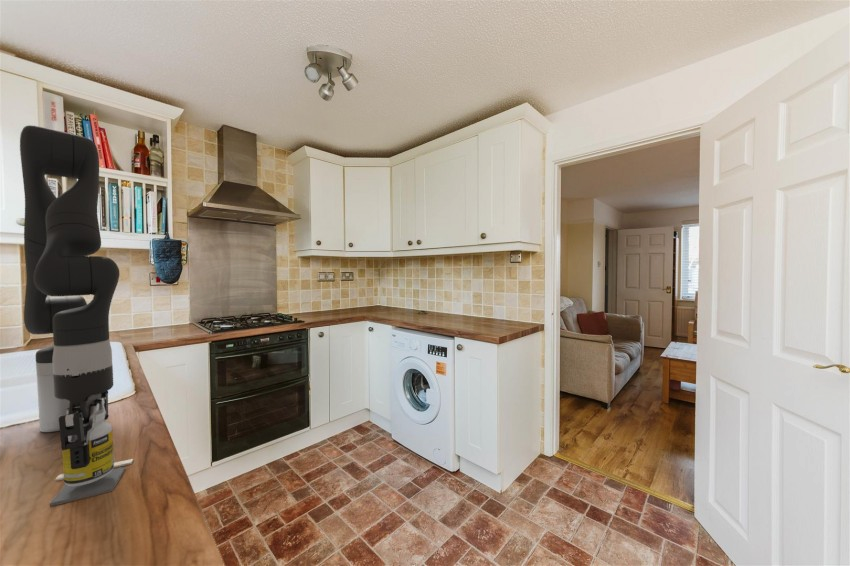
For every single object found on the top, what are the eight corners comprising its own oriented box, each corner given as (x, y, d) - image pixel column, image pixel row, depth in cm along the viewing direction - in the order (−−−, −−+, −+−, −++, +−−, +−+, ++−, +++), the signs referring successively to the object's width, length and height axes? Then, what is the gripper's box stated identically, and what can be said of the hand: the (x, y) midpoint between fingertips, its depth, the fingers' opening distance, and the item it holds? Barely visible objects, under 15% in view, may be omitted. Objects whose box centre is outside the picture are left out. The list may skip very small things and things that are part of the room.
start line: (59, 476, 65) (59, 474, 65) (133, 460, 70) (133, 458, 70) (55, 481, 63) (55, 478, 63) (131, 464, 69) (131, 462, 69)
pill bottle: (82, 490, 58) (78, 424, 57) (53, 485, 59) (50, 420, 58) (123, 468, 64) (120, 408, 63) (96, 464, 65) (93, 405, 65)
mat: (69, 481, 63) (69, 479, 63) (125, 469, 67) (125, 466, 67) (49, 506, 56) (49, 503, 56) (112, 490, 60) (112, 488, 60)
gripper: (72, 360, 65) (77, 444, 66) (32, 381, 52) (38, 485, 53) (123, 355, 69) (127, 435, 69) (97, 374, 56) (102, 471, 57)
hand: (88, 456), depth 61 cm, fingers closed on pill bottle, 6 cm apart
